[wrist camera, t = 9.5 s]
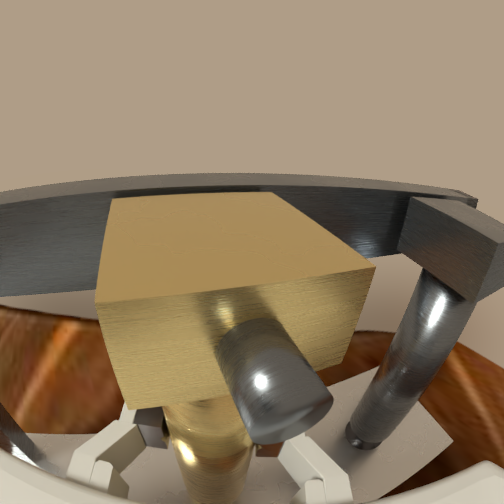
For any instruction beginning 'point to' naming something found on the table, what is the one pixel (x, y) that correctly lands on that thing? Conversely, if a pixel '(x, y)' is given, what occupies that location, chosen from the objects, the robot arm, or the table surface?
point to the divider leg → (225, 323)
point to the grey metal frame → (344, 393)
